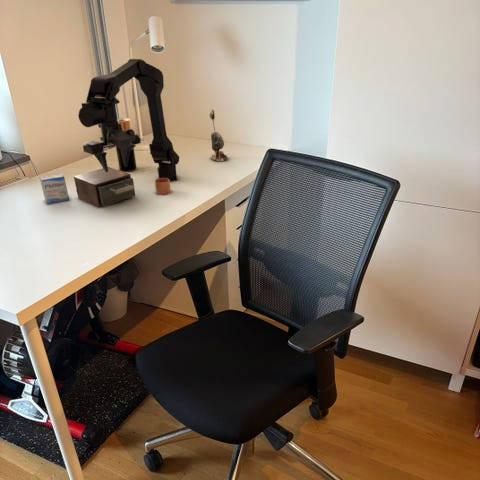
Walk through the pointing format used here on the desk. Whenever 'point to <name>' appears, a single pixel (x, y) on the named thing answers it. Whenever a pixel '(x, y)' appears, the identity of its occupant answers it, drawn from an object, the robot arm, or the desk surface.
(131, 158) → the battery
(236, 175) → the desk surface
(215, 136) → the plant with pod
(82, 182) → the cabinet
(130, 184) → the drawer
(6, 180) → the desk surface
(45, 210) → the desk surface
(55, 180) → the medicine box
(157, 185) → the cup
